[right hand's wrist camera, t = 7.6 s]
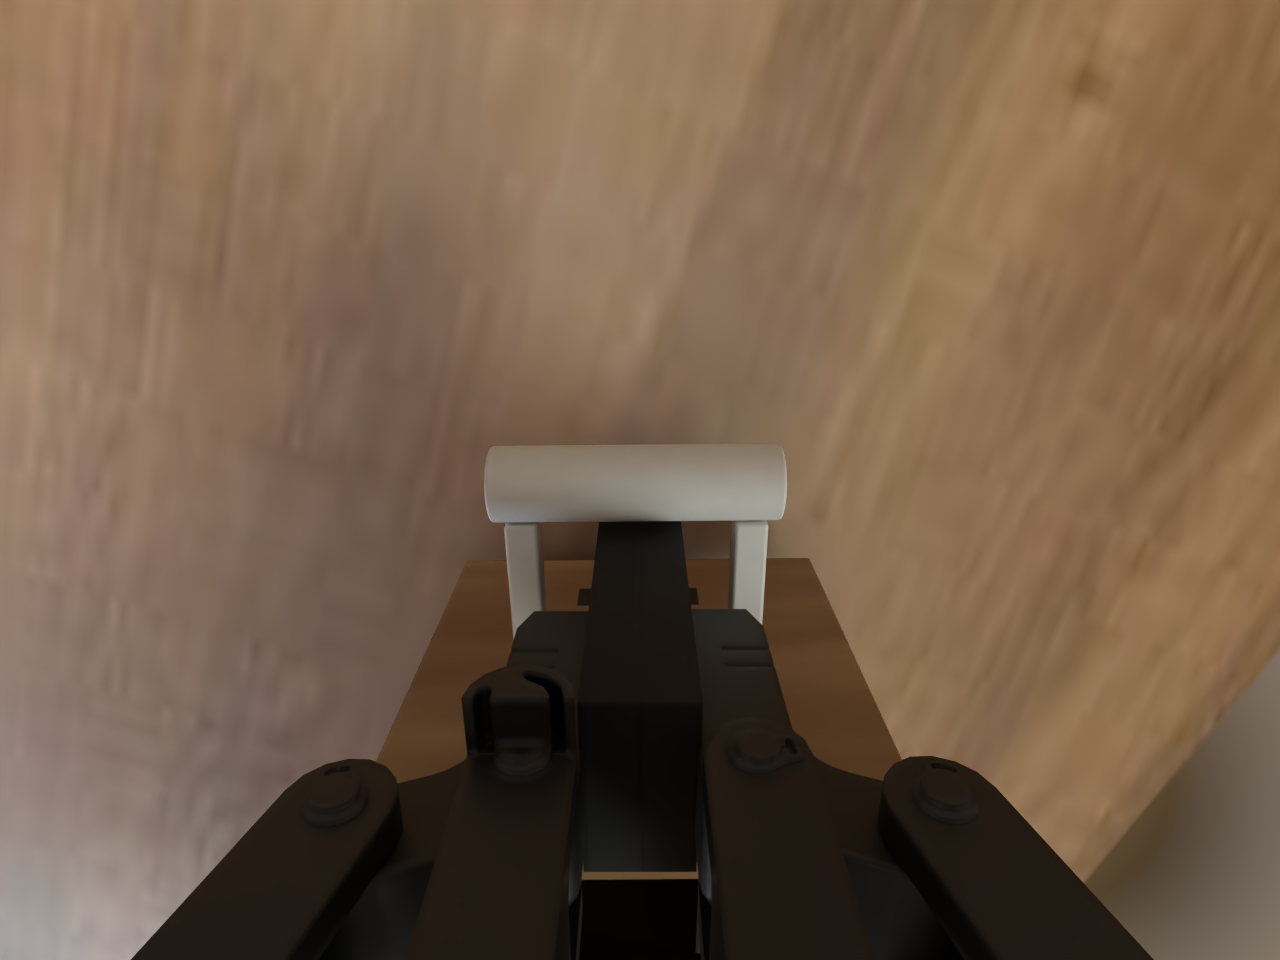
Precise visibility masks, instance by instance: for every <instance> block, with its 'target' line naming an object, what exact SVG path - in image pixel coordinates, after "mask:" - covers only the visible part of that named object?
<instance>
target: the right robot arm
mask: <svg viewBox="0 0 1280 960" xmlns="http://www.w3.org/2000/svg"><path fill="white" fill-rule="evenodd" d="M461 701H462V710H463V719H464V728H465V738H466V747H467V757H466V759H465V760H464V761H462V762H461V763H459V764H457V765H455V766H453V767H451V768H449V769H447V770H445V771H442V772H439V773H436V774H433V775H430V776H426V777H422V778H418V779H413V780H409V781H405V782H401V783H397V780H396V777H395V776H394V775H393V774H392V772H391V771H390V770H389V769H388V767H387V766H385V765H382V764H380V763H377V762H375V761H372V760H365V759H347V760H342V761H338V762H334V763H329V764H325V765H323V766H321V767H319V768H317V769H315V770H313V771H311V772H309V773H307V774H305V775H303V776H302V777H301V778H300V779H298V780H297V781H296V782H295V783H293V784H292V785H291V786H290V787H289V788H287V789H286V790H285V791H284V792H283V793H282V794H281V796H280V797H279V798H278V799H277V800H276V801H275V802H274V803H273V804H272V805H271V807H270V808H269V809H268V810H267V811H266V812H265V813H264V814H263V815H262V816H261V818H260V819H259V820H258V821H257V822H256V823H255V824H254V825H253V826H252V827H251V828H250V830H249V831H248V832H247V833H246V834H245V835H244V836H243V837H242V838H241V839H240V841H239V842H238V843H237V844H236V845H235V846H234V847H233V848H232V849H231V850H230V852H229V853H228V854H227V855H226V856H225V857H224V858H223V859H222V860H221V861H220V862H219V864H218V865H217V866H216V867H215V868H214V869H213V870H212V871H211V872H210V873H209V875H208V876H207V877H206V878H205V879H204V880H203V881H202V882H201V883H200V884H199V886H198V887H197V888H196V889H195V890H194V891H193V892H192V893H191V894H190V895H189V897H188V898H187V899H186V900H185V901H184V902H183V903H182V904H181V905H180V906H179V907H178V909H177V910H176V911H175V912H174V913H173V914H172V915H171V916H170V917H169V918H168V920H167V921H166V922H165V923H164V924H163V925H162V926H161V927H160V928H159V929H158V931H157V932H156V933H155V934H154V935H153V936H152V937H151V938H150V939H149V940H148V941H147V943H146V944H145V945H144V946H143V947H142V948H141V949H140V950H139V951H138V952H137V954H136V955H135V956H134V957H133V958H132V959H131V960H579V953H580V940H581V927H582V914H583V904H582V871H583V872H697V867H698V878H699V879H698V904H697V930H696V953H701V960H1153V958H1152V957H1151V956H1150V955H1149V954H1148V953H1147V952H1146V951H1145V950H1144V949H1143V948H1142V947H1141V945H1140V944H1139V943H1138V942H1137V941H1136V940H1135V939H1134V938H1133V937H1132V936H1131V935H1130V933H1129V932H1128V931H1127V930H1126V929H1125V928H1124V927H1123V926H1122V925H1121V924H1120V923H1119V921H1118V920H1117V919H1116V918H1115V917H1114V916H1113V915H1112V914H1111V913H1110V912H1109V911H1108V909H1107V908H1106V907H1105V906H1104V905H1103V904H1102V903H1101V902H1100V901H1099V900H1098V899H1097V897H1096V896H1095V895H1094V894H1093V893H1092V892H1091V891H1090V890H1089V889H1088V888H1087V887H1086V886H1085V884H1084V883H1083V882H1082V881H1081V880H1080V879H1079V878H1078V877H1077V876H1076V875H1075V873H1074V872H1073V871H1072V870H1071V869H1070V868H1069V867H1068V866H1067V865H1066V864H1065V863H1064V861H1063V860H1062V859H1061V858H1060V857H1059V856H1058V855H1057V854H1056V853H1055V852H1054V851H1053V849H1052V848H1051V847H1050V846H1049V845H1048V844H1047V843H1046V842H1045V841H1044V840H1043V839H1042V837H1041V836H1040V835H1039V834H1038V833H1037V832H1036V831H1035V830H1034V829H1033V828H1032V827H1031V825H1030V824H1029V823H1028V822H1027V821H1026V820H1025V819H1024V818H1023V817H1022V816H1021V815H1020V814H1019V812H1018V811H1017V810H1016V809H1015V808H1014V807H1013V806H1012V805H1011V804H1010V803H1009V802H1008V800H1007V799H1006V798H1005V797H1004V796H1003V795H1002V794H1001V793H1000V792H999V791H998V790H997V788H996V787H994V786H993V785H992V784H991V783H990V782H988V781H987V780H986V779H985V778H984V777H982V776H981V775H980V774H979V773H978V772H976V771H974V770H972V769H970V768H967V767H965V766H963V765H961V764H959V763H957V762H955V761H951V760H947V759H942V758H938V757H934V756H918V757H909V758H906V759H904V760H901V761H899V762H896V763H894V764H893V765H892V766H891V768H890V769H889V770H888V771H887V772H886V774H885V775H884V780H883V781H882V780H878V779H874V778H870V777H866V776H862V775H858V774H854V773H850V772H847V771H844V770H841V769H838V768H835V767H832V766H830V765H829V764H827V763H825V762H823V761H821V760H819V759H818V758H816V757H815V756H814V755H813V753H812V751H811V750H810V748H809V746H808V744H807V743H806V741H805V739H804V738H802V737H801V736H800V735H799V734H797V733H796V732H795V731H794V730H793V729H792V726H791V722H790V718H789V715H788V711H787V708H786V704H785V701H784V697H783V694H782V690H781V687H780V683H779V680H778V676H777V673H776V669H775V667H774V662H773V658H772V655H771V651H770V650H769V644H768V641H767V637H766V634H765V630H764V627H763V625H762V624H761V623H760V622H759V621H758V620H757V619H756V618H755V617H754V616H753V615H752V614H751V613H750V612H749V611H748V610H747V609H691V601H690V593H689V585H688V577H687V569H686V561H685V552H684V544H683V536H682V528H681V521H624V522H599V529H598V537H597V545H596V553H595V561H594V570H593V578H592V586H591V594H590V602H589V610H588V611H534V612H533V613H532V614H531V615H530V616H529V617H528V618H527V619H526V620H525V621H524V622H523V623H522V624H521V625H520V626H519V627H518V628H517V630H516V633H515V637H514V641H513V644H512V648H511V652H510V655H509V658H508V662H507V666H505V667H502V668H500V669H497V670H494V671H491V672H488V673H486V674H484V675H483V676H481V677H480V678H479V679H477V680H476V681H474V682H473V683H472V684H470V685H469V687H468V688H467V690H466V691H465V693H464V695H463V696H462V698H461Z"/></svg>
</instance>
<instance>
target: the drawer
mask: <svg viewBox="0 0 1280 960" xmlns="http://www.w3.org/2000/svg"><path fill="white" fill-rule="evenodd" d="M484 494H485V503H486V509H487V513H488V516H489V518H490V520H491V521H492V522H494V523H506V524H505V527H504V534H505V546H506V558H507V561H467V563H466V565H465V567H464V569H463V571H462V574H461V576H460V578H459V580H458V582H457V585H456V587H455V589H454V591H453V593H452V596H451V598H450V600H449V602H448V604H447V607H446V609H445V611H444V613H443V615H442V618H441V620H440V622H439V624H438V626H437V629H436V631H435V633H434V635H433V637H432V640H431V642H430V644H429V646H428V649H427V651H426V653H425V655H424V657H423V660H422V662H421V664H420V666H419V668H418V671H417V673H416V675H415V677H414V679H413V682H412V684H411V686H410V688H409V690H408V693H407V695H406V697H405V699H404V701H403V704H402V706H401V708H400V710H399V712H398V715H397V717H396V719H395V721H394V723H393V726H392V728H391V730H390V732H389V734H388V737H387V739H386V741H385V743H384V745H383V748H382V750H381V752H380V754H379V757H378V759H377V761H376V762H377V763H380V764H382V765H385V766H387V767H388V769H389V770H390V771H391V772H392V774H393V775H394V776H395V777H396V780H397V783H401V782H405V781H409V780H413V779H418V778H422V777H426V776H430V775H433V774H436V773H439V772H442V771H445V770H447V769H449V768H451V767H453V766H455V765H457V764H459V763H461V762H462V761H464V760H465V759H466V757H467V747H466V738H465V728H464V719H463V710H462V701H461V698H462V696H463V695H464V693H465V691H466V690H467V688H468V687H469V685H470V684H472V683H473V682H474V681H476V680H477V679H479V678H480V677H481V676H483V675H484V674H486V673H488V672H491V671H494V670H497V669H500V668H502V667H505V666H507V662H508V658H509V655H510V652H511V648H512V644H513V641H514V637H515V633H516V630H517V628H518V627H519V626H520V625H521V624H522V623H523V622H524V621H525V620H526V619H527V618H528V617H529V616H530V615H531V614H532V613H533V612H534V611H588V610H589V602H590V594H591V586H592V578H593V570H594V561H595V560H544V559H543V543H542V528H541V522H624V521H731V543H730V559H685V561H686V569H687V577H688V585H689V593H690V601H691V609H747V610H748V611H749V612H750V613H751V614H752V615H753V616H754V617H755V618H756V619H757V620H758V621H759V622H760V623H761V624H762V625H763V627H764V630H765V634H766V637H767V641H768V644H769V650H770V651H771V655H772V658H773V662H774V667H775V669H776V673H777V676H778V680H779V683H780V687H781V690H782V694H783V697H784V701H785V704H786V708H787V711H788V715H789V718H790V722H791V726H792V729H793V730H794V731H795V732H796V733H797V734H799V735H800V736H801V737H802V738H804V739H805V741H806V743H807V744H808V746H809V748H810V750H811V751H812V753H813V755H814V756H815V757H816V758H818V759H819V760H821V761H823V762H825V763H827V764H829V765H830V766H832V767H835V768H838V769H841V770H844V771H847V772H850V773H854V774H858V775H862V776H866V777H870V778H874V779H878V780H882V781H883V780H884V775H885V774H886V772H887V771H888V770H889V769H890V768H891V766H892V765H893V764H894V763H896V762H899V761H901V760H902V759H901V757H900V755H899V753H898V750H897V748H896V746H895V744H894V742H893V740H892V737H891V735H890V733H889V731H888V729H887V726H886V724H885V722H884V720H883V718H882V716H881V713H880V711H879V709H878V707H877V705H876V703H875V700H874V698H873V696H872V694H871V692H870V690H869V687H868V685H867V683H866V681H865V679H864V677H863V674H862V672H861V670H860V668H859V666H858V663H857V661H856V659H855V657H854V655H853V653H852V650H851V648H850V646H849V644H848V642H847V640H846V637H845V635H844V633H843V631H842V629H841V627H840V624H839V622H838V620H837V618H836V616H835V614H834V611H833V609H832V607H831V605H830V603H829V600H828V598H827V596H826V594H825V592H824V590H823V587H822V585H821V583H820V581H819V579H818V577H817V574H816V572H815V570H814V568H813V566H812V564H811V561H810V559H809V558H766V556H767V540H768V524H767V521H766V520H779V519H781V518H782V516H783V513H784V510H785V505H786V497H787V470H786V461H785V455H784V452H783V449H782V447H781V445H780V444H778V443H748V444H632V445H516V446H492V447H490V449H489V451H488V454H487V457H486V463H485V473H484ZM698 879H699V878H698V867H697V872H583V871H582V904H583V914H582V927H581V940H580V953H579V960H701V953H696V930H697V904H698Z"/></svg>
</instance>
